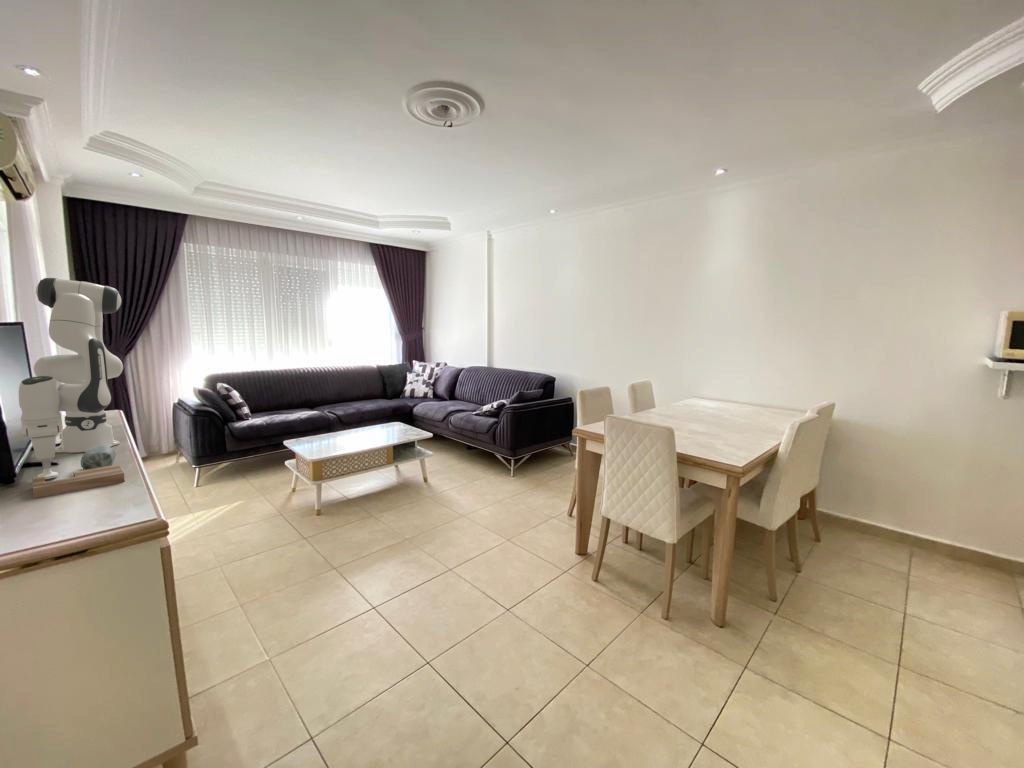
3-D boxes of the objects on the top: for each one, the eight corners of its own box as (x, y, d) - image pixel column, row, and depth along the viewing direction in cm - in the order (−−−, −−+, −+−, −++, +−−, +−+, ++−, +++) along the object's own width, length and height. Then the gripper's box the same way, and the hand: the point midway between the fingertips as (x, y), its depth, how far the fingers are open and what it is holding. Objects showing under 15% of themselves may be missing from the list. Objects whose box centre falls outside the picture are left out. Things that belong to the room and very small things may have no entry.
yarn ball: (119, 463, 148) (100, 439, 146) (86, 480, 142) (66, 455, 140) (127, 462, 159) (110, 440, 157) (97, 477, 154) (78, 455, 152)
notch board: (33, 487, 132) (32, 478, 132) (119, 472, 147) (118, 464, 147) (33, 498, 124) (32, 488, 124) (124, 481, 140) (123, 472, 139)
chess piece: (39, 480, 136) (36, 450, 135) (34, 477, 139) (31, 448, 137) (60, 476, 141) (58, 447, 139) (55, 473, 143) (52, 444, 142)
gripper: (28, 421, 142) (32, 461, 144) (27, 433, 128) (32, 477, 130) (55, 419, 146) (59, 457, 148) (57, 430, 133) (62, 472, 135)
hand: (46, 466), depth 139 cm, fingers closed on chess piece
